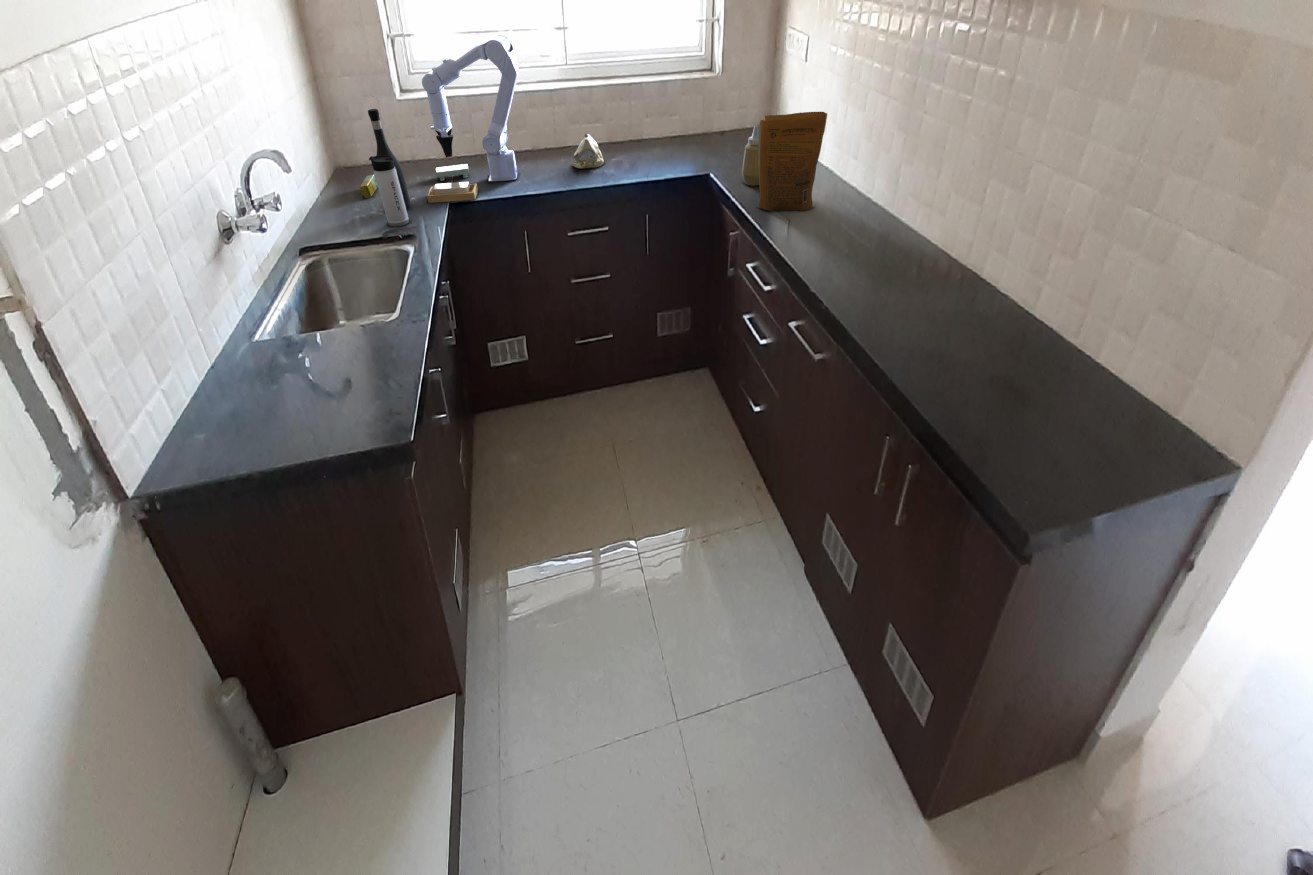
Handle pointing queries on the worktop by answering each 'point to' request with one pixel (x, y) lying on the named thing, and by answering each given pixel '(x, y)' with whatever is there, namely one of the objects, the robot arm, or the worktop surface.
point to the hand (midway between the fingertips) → (448, 153)
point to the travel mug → (390, 190)
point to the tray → (453, 195)
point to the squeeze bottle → (751, 159)
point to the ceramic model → (588, 154)
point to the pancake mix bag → (789, 159)
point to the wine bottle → (388, 153)
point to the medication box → (369, 186)
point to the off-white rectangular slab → (451, 188)
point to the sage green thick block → (452, 171)
